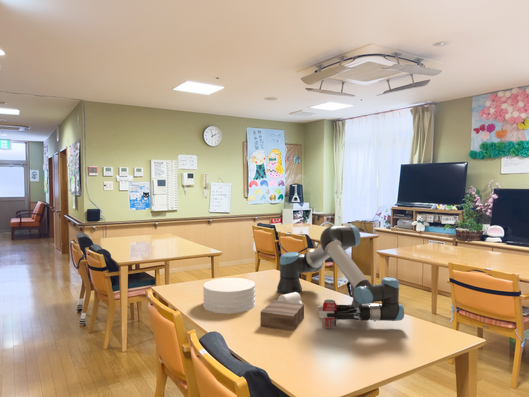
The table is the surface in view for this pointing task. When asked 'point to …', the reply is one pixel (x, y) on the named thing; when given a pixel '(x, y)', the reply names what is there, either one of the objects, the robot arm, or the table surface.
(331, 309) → the beverage can
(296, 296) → the mug
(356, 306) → the coffeepot
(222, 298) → the plate stack
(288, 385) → the table surface
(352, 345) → the table surface
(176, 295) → the table surface
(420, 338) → the table surface
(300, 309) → the walnut block
